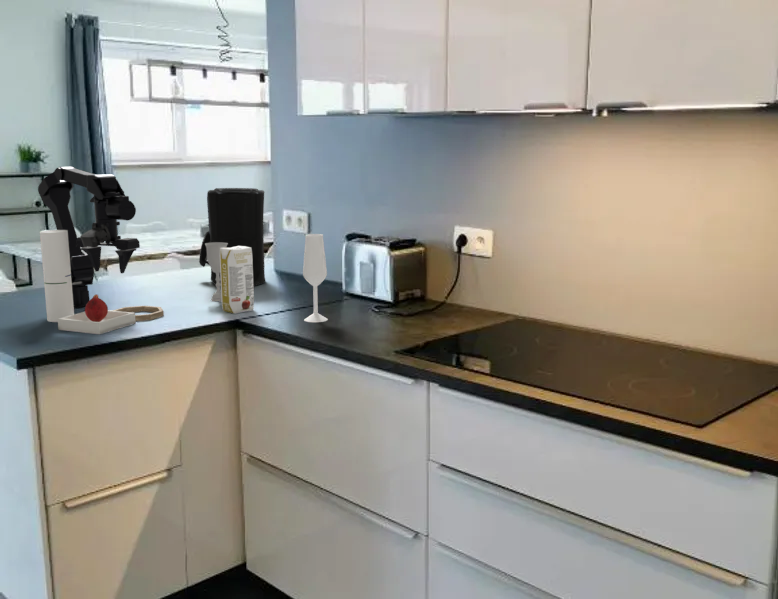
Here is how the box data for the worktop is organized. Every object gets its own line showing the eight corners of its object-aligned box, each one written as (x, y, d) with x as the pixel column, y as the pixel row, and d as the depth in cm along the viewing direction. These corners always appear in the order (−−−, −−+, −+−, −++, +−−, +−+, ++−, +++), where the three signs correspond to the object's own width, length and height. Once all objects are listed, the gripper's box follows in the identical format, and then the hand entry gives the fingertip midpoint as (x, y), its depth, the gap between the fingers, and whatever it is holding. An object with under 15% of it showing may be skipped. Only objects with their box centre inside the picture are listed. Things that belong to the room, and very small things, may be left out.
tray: (58, 329, 213) (57, 318, 212) (95, 319, 226) (95, 308, 225) (99, 334, 208) (98, 323, 207) (135, 323, 221) (135, 312, 220)
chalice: (202, 301, 252) (200, 244, 248) (215, 297, 258) (212, 241, 254) (222, 302, 249) (220, 245, 245) (234, 298, 255) (232, 242, 252)
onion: (101, 326, 213) (98, 297, 212) (81, 325, 215) (79, 296, 213) (112, 321, 219) (110, 293, 217) (93, 320, 220) (91, 292, 219)
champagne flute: (331, 320, 223) (330, 235, 219) (308, 323, 220) (307, 236, 216) (322, 316, 229) (321, 233, 225) (300, 318, 226) (298, 234, 222)
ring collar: (101, 318, 226) (100, 313, 226) (134, 309, 239) (134, 304, 239) (141, 322, 221) (140, 317, 221) (172, 313, 234) (172, 308, 233)
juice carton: (257, 310, 237) (255, 247, 234) (233, 315, 231) (230, 249, 228) (242, 307, 242) (240, 244, 239) (218, 311, 236) (215, 247, 233)
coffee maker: (254, 274, 304) (251, 184, 297) (290, 286, 277) (288, 189, 270) (196, 279, 292) (192, 186, 285) (228, 293, 265) (224, 191, 258)
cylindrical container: (79, 317, 228) (73, 230, 223) (62, 322, 221) (54, 233, 217) (59, 315, 230) (52, 229, 225) (41, 321, 224) (33, 232, 219)
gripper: (59, 220, 226) (64, 274, 229) (112, 222, 219) (116, 278, 222) (88, 216, 236) (92, 268, 239) (139, 218, 229) (142, 272, 232)
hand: (109, 272), depth 232 cm, fingers open, 9 cm apart
